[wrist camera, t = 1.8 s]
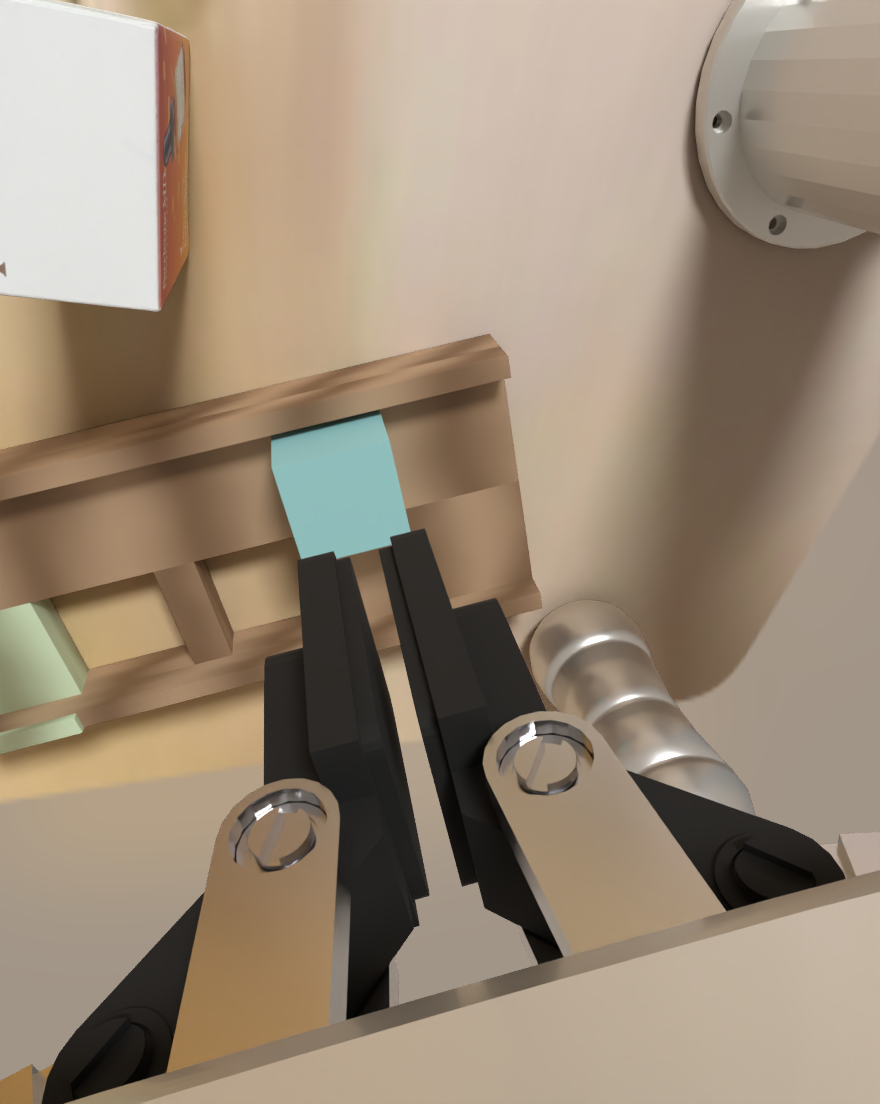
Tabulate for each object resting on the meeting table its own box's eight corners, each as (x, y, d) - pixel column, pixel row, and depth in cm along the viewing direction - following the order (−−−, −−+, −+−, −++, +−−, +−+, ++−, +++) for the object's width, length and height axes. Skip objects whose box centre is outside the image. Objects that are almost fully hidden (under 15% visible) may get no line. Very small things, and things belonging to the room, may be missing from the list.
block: (377, 405, 37) (389, 439, 33) (399, 499, 39) (412, 539, 36) (271, 431, 36) (271, 468, 33) (300, 524, 39) (303, 567, 36)
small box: (190, 255, 34) (163, 321, 25) (46, 236, 33) (-35, 299, 24) (193, 34, 30) (162, 20, 21) (30, 2, 29) (-75, -27, 20)
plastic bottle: (516, 597, 46) (658, 899, 30) (628, 575, 47) (829, 857, 30) (523, 682, 50) (654, 995, 33) (627, 659, 50) (807, 955, 34)
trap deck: (489, 333, 38) (514, 363, 34) (524, 573, 46) (547, 618, 42) (-151, 485, 36) (-199, 534, 32) (-4, 709, 44) (-30, 769, 40)
